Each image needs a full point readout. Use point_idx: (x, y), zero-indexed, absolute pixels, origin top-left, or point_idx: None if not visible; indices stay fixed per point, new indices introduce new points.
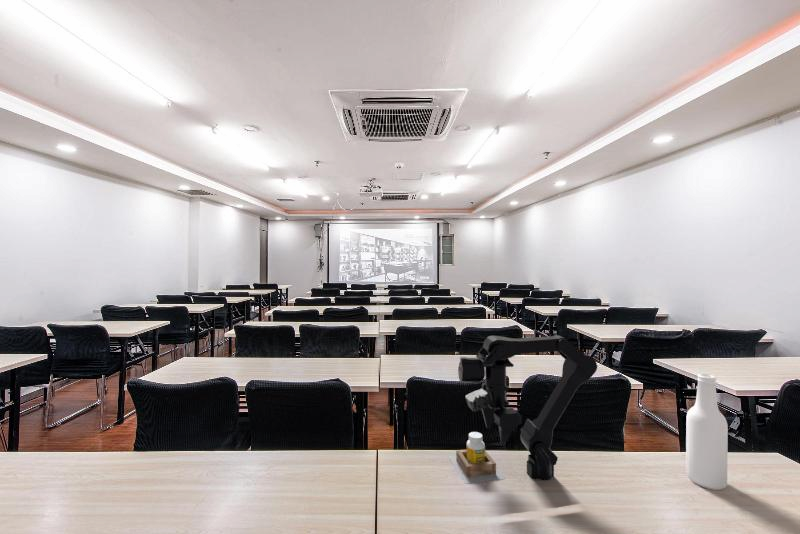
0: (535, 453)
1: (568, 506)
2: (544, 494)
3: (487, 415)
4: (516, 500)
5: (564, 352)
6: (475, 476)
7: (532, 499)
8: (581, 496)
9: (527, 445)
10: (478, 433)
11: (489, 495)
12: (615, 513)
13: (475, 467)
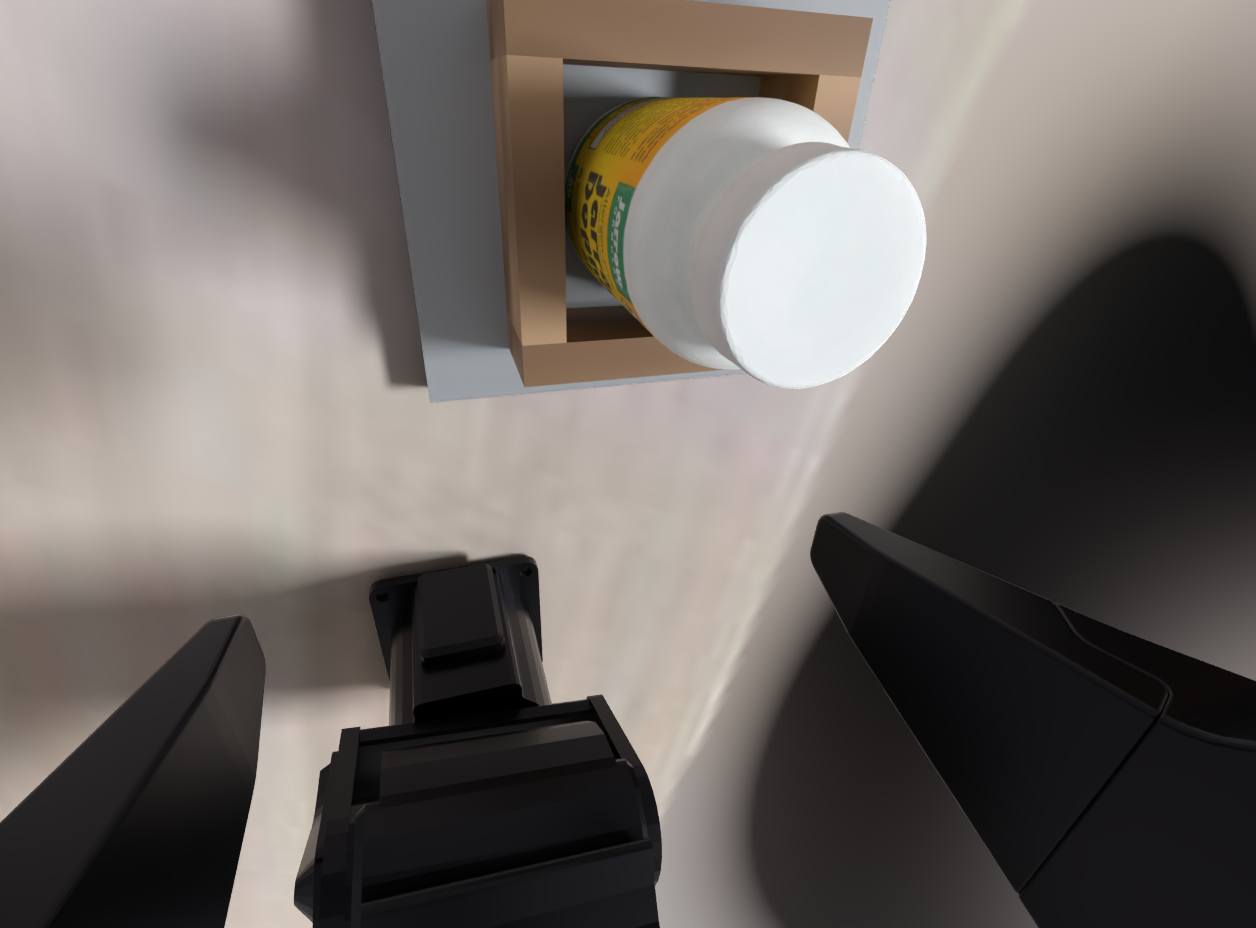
0: (328, 810)
1: (139, 686)
2: (274, 596)
3: (1007, 697)
4: (167, 388)
5: None
6: (489, 120)
7: (199, 508)
8: (264, 760)
9: (408, 810)
10: (846, 348)
11: (226, 161)
12: None
13: (507, 127)
